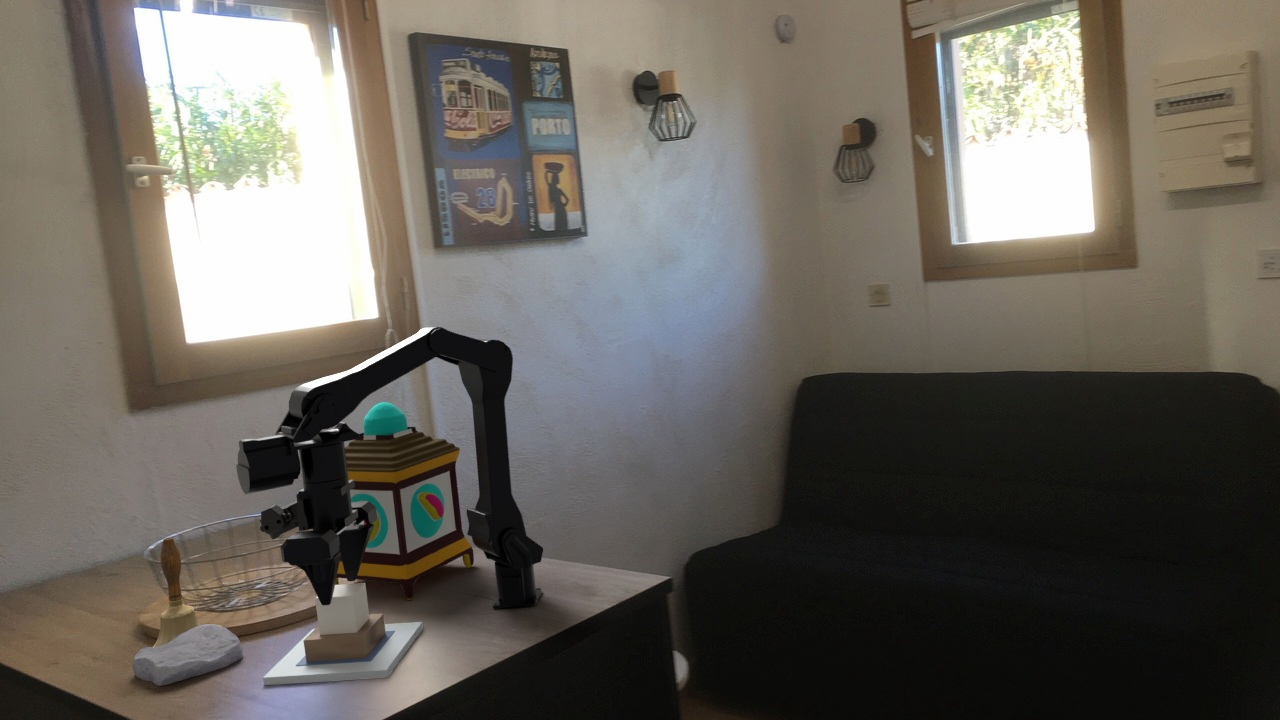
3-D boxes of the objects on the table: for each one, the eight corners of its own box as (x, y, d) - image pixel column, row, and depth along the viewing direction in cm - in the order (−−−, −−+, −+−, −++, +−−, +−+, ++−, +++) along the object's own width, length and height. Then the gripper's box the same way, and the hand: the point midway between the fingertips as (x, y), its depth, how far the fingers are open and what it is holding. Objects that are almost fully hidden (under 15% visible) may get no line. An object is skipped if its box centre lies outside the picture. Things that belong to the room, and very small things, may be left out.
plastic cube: (333, 620, 131) (329, 585, 131) (369, 618, 131) (365, 582, 130) (319, 634, 126) (315, 598, 126) (356, 632, 126) (352, 595, 125)
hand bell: (153, 643, 140) (138, 537, 138) (215, 631, 143) (201, 527, 141) (146, 664, 132) (130, 551, 131) (211, 650, 135) (196, 540, 134)
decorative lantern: (396, 557, 173) (377, 393, 170) (486, 564, 164) (468, 391, 161) (314, 596, 155) (291, 413, 152) (411, 605, 146) (388, 412, 143)
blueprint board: (313, 635, 137) (310, 608, 137) (423, 628, 136) (419, 601, 136) (264, 685, 121) (259, 654, 121) (387, 677, 120) (383, 647, 120)
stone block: (252, 669, 132) (214, 643, 138) (250, 638, 131) (212, 613, 137) (167, 708, 123) (129, 678, 129) (164, 675, 122) (126, 646, 127)
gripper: (295, 467, 136) (308, 573, 138) (232, 500, 118) (248, 622, 119) (372, 461, 135) (384, 568, 137) (320, 493, 117) (336, 617, 118)
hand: (339, 592), depth 128 cm, fingers open, 9 cm apart
